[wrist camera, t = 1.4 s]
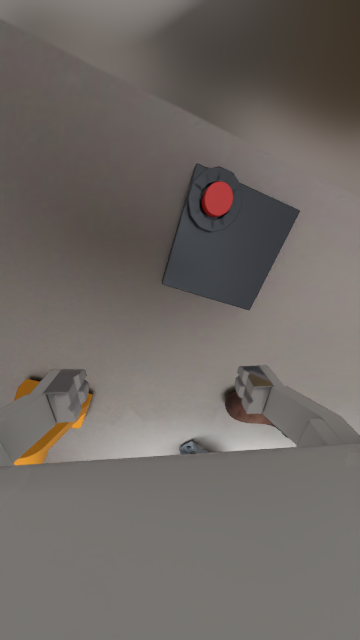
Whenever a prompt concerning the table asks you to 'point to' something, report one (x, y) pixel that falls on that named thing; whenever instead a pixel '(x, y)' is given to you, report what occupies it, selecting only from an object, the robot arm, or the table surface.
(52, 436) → the bracket
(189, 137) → the table surface
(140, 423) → the table surface
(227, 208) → the button
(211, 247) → the scale
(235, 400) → the chisel
